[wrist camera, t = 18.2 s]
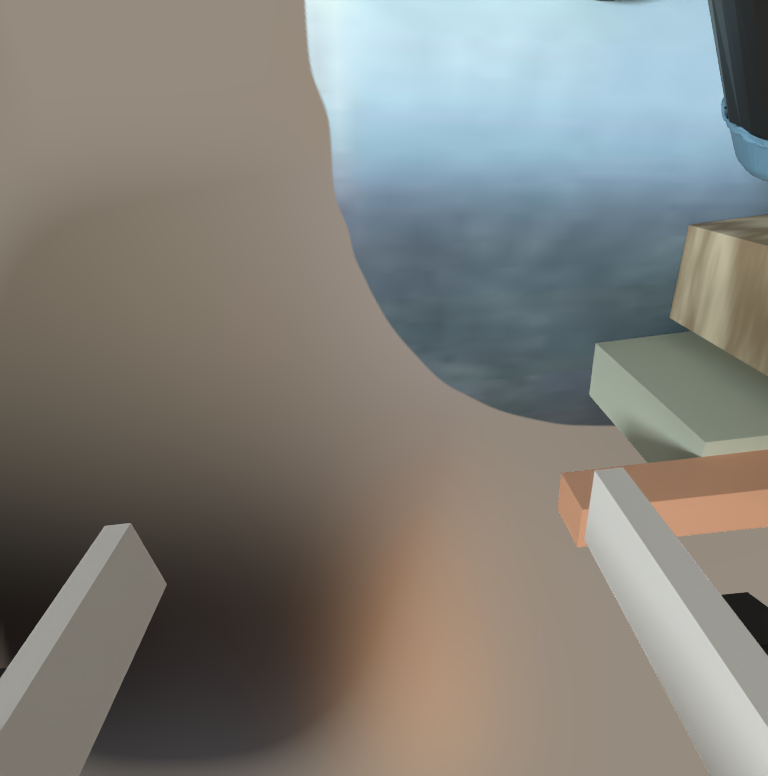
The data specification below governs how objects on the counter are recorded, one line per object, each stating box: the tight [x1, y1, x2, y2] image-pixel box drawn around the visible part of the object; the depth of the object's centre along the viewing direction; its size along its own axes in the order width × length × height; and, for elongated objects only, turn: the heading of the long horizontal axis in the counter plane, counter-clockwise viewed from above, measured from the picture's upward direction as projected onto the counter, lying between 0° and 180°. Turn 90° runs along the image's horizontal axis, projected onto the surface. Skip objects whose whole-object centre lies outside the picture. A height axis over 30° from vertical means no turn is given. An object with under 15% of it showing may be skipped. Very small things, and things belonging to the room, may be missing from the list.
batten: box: [558, 449, 768, 547], centre depth 34 cm, size 28×4×4 cm, turn 97°
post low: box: [589, 331, 768, 463], centre depth 44 cm, size 14×7×19 cm, turn 97°
